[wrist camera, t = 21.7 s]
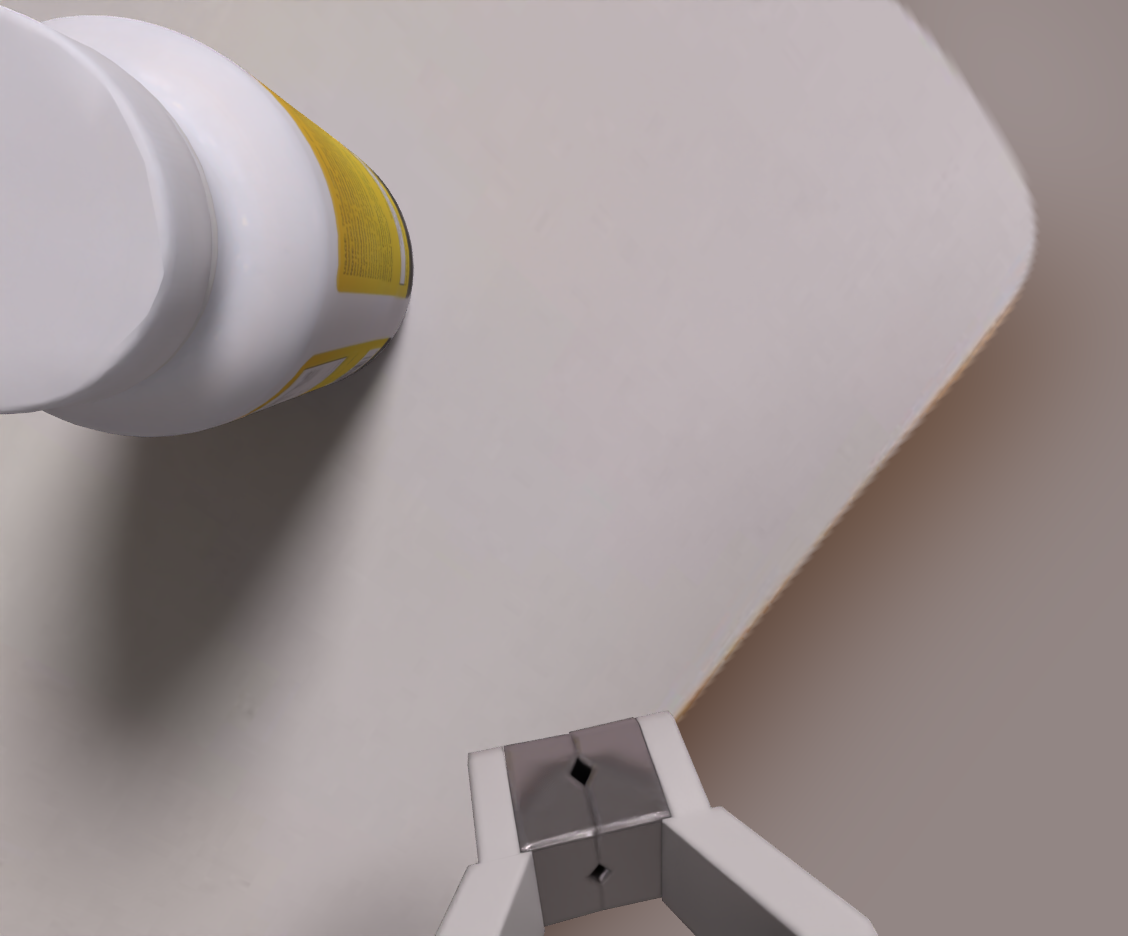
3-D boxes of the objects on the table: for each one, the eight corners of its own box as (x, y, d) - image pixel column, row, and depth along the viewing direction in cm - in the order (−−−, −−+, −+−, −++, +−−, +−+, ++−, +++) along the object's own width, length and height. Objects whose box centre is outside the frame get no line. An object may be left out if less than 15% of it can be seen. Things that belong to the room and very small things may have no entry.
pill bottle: (286, 79, 19) (-107, -265, 8) (469, 268, 20) (366, 215, 9) (122, 263, 20) (-451, 203, 8) (306, 435, 21) (16, 588, 9)
